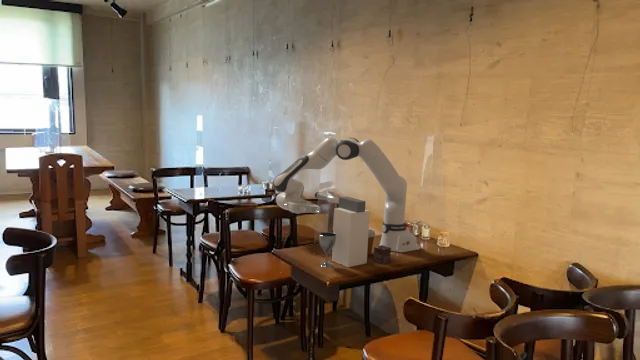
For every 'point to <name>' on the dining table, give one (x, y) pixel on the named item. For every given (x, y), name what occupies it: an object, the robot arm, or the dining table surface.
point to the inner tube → (327, 197)
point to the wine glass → (327, 245)
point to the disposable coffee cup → (370, 241)
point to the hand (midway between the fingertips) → (313, 210)
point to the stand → (350, 232)
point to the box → (382, 254)
